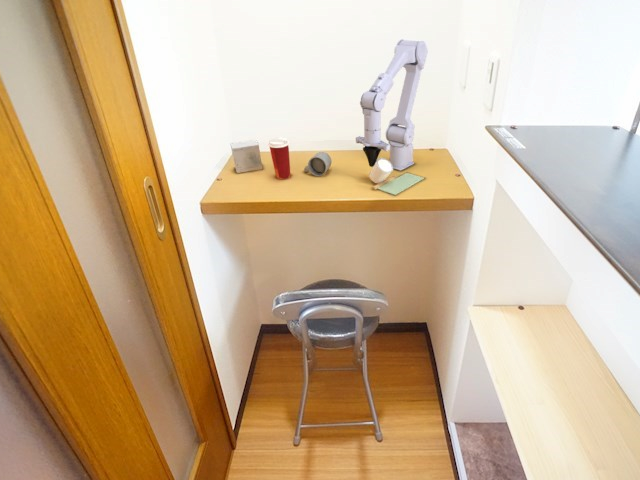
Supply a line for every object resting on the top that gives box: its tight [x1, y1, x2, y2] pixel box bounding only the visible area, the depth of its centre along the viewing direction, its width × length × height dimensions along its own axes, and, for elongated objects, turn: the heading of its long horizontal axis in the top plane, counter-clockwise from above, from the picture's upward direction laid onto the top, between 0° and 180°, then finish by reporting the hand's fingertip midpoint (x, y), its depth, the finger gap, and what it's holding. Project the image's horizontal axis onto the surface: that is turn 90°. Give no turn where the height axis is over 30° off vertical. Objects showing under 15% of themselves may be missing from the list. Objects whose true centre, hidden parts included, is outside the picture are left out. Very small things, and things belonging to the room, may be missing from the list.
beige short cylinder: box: [368, 157, 394, 185], centre depth 145 cm, size 7×7×7 cm
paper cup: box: [267, 137, 291, 180], centre depth 151 cm, size 8×8×14 cm
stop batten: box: [372, 175, 397, 191], centre depth 146 cm, size 12×1×1 cm, turn 137°
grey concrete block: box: [230, 139, 264, 174], centre depth 159 cm, size 10×6×10 cm, turn 110°
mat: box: [376, 172, 425, 196], centre depth 146 cm, size 18×8×1 cm, turn 137°
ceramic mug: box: [303, 151, 332, 177], centre depth 155 cm, size 11×8×8 cm
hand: (372, 165), depth 146 cm, fingers closed
